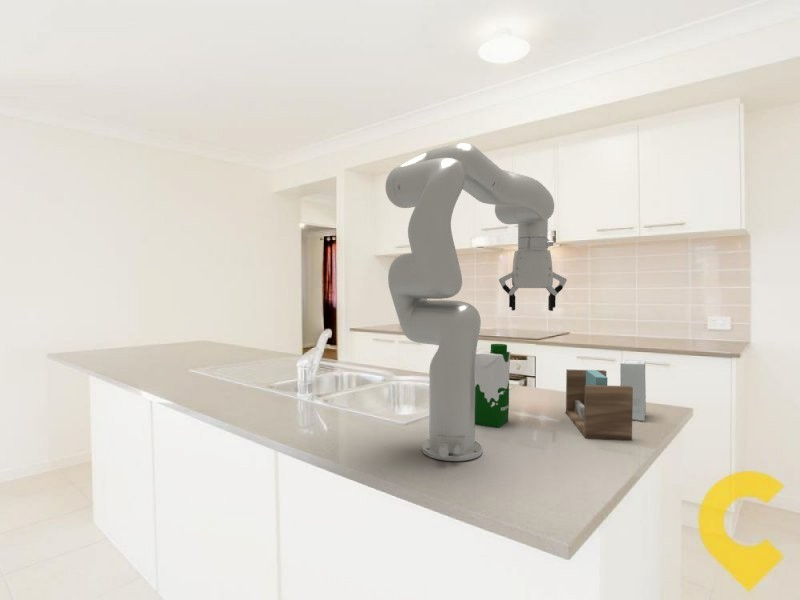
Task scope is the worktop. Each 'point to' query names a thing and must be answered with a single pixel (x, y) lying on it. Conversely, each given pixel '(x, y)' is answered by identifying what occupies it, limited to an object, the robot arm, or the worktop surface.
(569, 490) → the worktop surface
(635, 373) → the skincare box
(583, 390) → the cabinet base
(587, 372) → the door panel
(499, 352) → the milk carton
